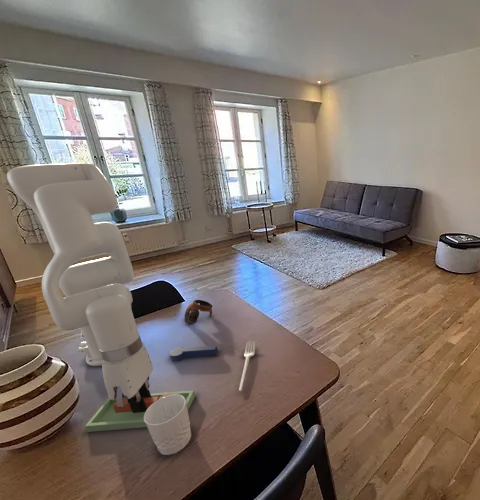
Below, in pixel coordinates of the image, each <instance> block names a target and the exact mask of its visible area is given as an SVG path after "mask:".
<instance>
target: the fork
mask: <svg viewBox="0 0 480 500" xmlns="http://www.w3.org/2000/svg"><path fill="white" fill-rule="evenodd" d="M255 343H256V342H255V341H252V340H250V341H247V342H246V345H245V349H244V354H243V357H244V358H245V361H244V365H243V371H242V375H241V379H240V382H239V386H238V387H239V388H238V393H242V391H243V388H244V387H243V386H244V383H245V379H246V375H247V371H248V367H249V363H250V358H251V357H254V356H255V353H256V345H255Z"/></svg>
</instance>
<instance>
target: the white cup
mask: <svg viewBox="0 0 480 500" xmlns="http://www.w3.org/2000/svg"><path fill="white" fill-rule="evenodd" d="M144 421H145V423H146V426H147V427H146V428H147V430H148V432H149V434H150V437H151V439H152V441H153V443H154V445H155V446H156V449H157V451H158V452H159V453H160V454H161V455H165V456H170V455H174V454H177V453H179V452H180V451H181V450H183V449H184V448H186V446H187V445H188V444H189V442H190V441H191V438H192V430H191V429H192V428H191V421H190V417H189V409H188V410H187V405H186V400H185V398H184V397H183V396H182V395H179V394H172V395H168V396H165V397H162V398H160V399H158V400H157V401H155V402H154V403H153V404H152V405H150V407H149V408H148V409H147V410H146V412H145V414H144Z"/></svg>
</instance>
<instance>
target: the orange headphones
mask: <svg viewBox="0 0 480 500" xmlns="http://www.w3.org/2000/svg"><path fill="white" fill-rule="evenodd" d="M212 308H213V305H212V303H210V302H208V301H206V300H203V299H193V301H192V303H190V304H189V305H188V306H186V309H185V312H184V319H183V322H185V324H187V325H191V324H196V323H197V322H198V318H199V316H200V312H205V313H206V312H207V313H209V318H211V317H213V309H212Z"/></svg>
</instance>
